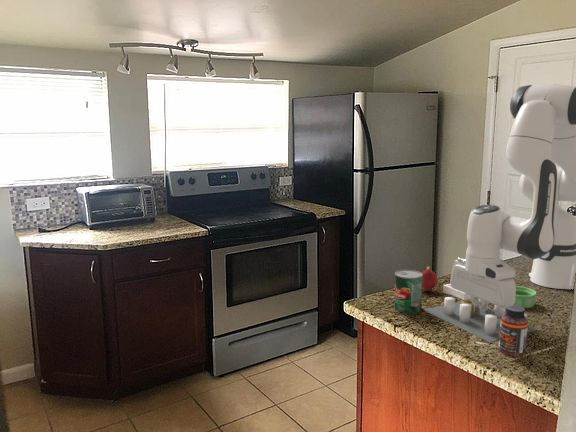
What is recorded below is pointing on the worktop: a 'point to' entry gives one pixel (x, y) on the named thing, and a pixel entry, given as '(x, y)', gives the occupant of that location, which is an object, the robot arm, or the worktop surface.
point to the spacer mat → (472, 319)
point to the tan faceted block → (468, 301)
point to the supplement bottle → (513, 331)
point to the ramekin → (524, 297)
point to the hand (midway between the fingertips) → (479, 312)
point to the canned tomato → (408, 291)
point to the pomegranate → (428, 279)
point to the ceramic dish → (455, 292)
